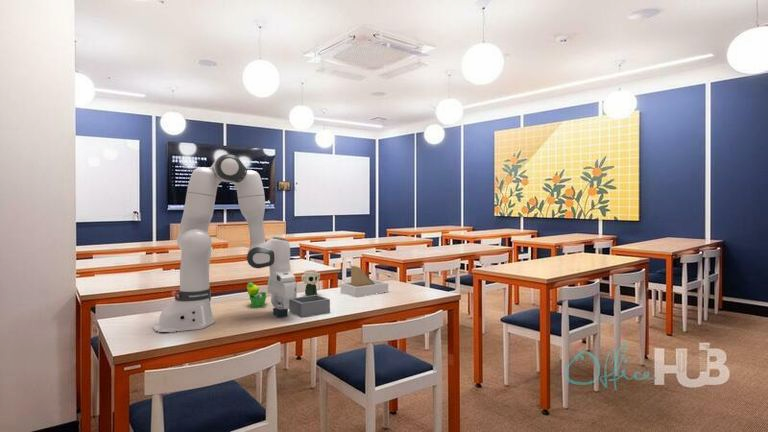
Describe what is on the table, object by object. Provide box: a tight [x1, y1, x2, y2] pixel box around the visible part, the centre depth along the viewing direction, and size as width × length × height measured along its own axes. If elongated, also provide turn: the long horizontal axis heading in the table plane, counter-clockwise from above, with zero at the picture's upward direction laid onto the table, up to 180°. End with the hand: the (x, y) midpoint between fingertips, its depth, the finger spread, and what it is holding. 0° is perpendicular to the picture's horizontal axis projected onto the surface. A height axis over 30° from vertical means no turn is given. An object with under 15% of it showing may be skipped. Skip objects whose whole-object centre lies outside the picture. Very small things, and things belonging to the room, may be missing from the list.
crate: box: [288, 294, 331, 319], centre depth 206 cm, size 14×12×6 cm
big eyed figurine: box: [301, 269, 321, 296], centre depth 241 cm, size 11×7×13 cm, turn 130°
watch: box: [270, 292, 289, 319], centre depth 200 cm, size 6×8×11 cm
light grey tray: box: [340, 278, 389, 298], centre depth 249 cm, size 21×15×5 cm
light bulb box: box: [277, 281, 298, 309], centre depth 218 cm, size 11×7×11 cm, turn 168°
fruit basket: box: [246, 282, 267, 309], centre depth 219 cm, size 11×9×11 cm
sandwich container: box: [350, 265, 375, 287], centre depth 250 cm, size 9×15×15 cm, turn 123°
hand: (280, 306), depth 200 cm, fingers open, 8 cm apart
